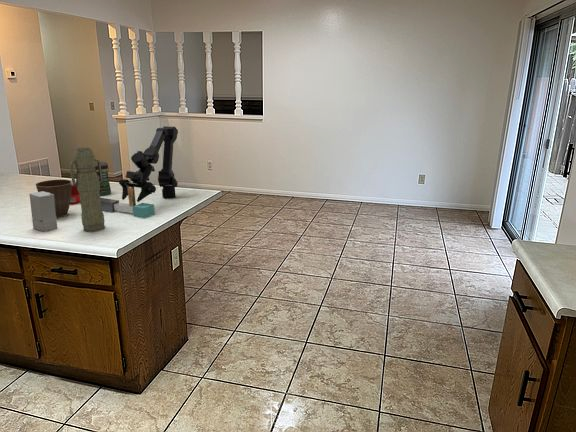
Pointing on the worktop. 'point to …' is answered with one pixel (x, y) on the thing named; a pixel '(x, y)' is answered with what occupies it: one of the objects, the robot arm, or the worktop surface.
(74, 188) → the canned food
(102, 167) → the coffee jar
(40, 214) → the skincare box
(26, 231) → the worktop surface
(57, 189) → the plant pot
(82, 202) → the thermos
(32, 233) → the worktop surface
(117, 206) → the bronze post on bar
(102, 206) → the grey rectangular metal block
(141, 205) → the socket
